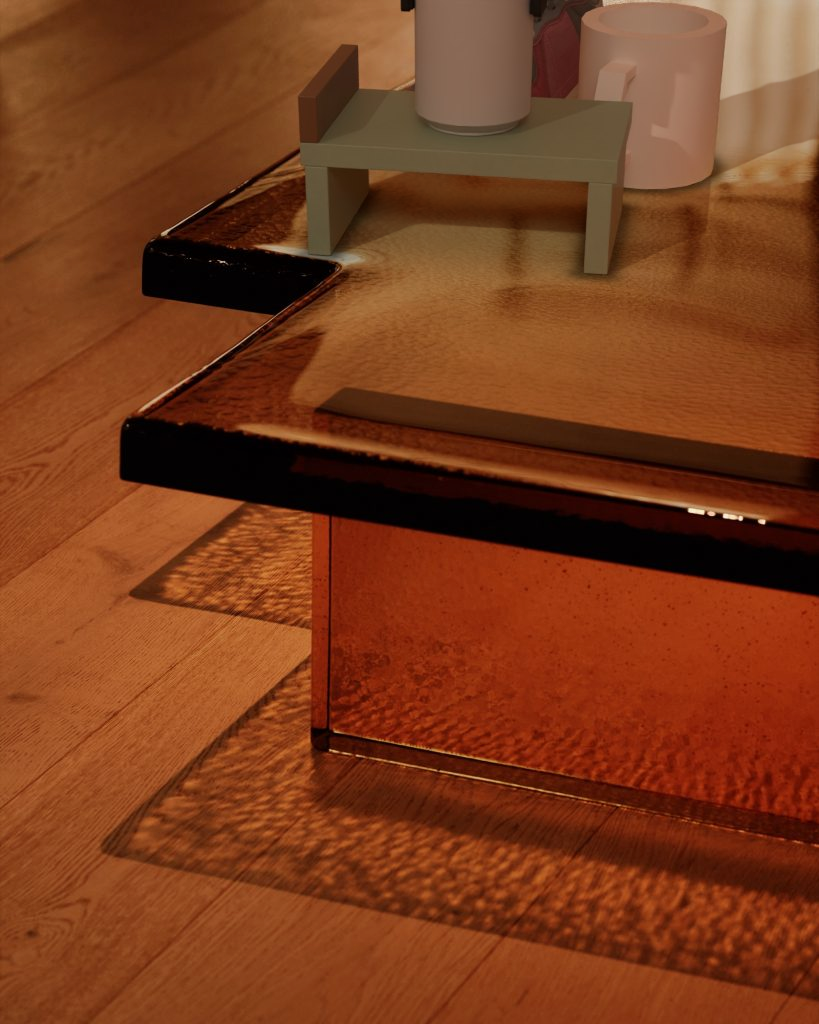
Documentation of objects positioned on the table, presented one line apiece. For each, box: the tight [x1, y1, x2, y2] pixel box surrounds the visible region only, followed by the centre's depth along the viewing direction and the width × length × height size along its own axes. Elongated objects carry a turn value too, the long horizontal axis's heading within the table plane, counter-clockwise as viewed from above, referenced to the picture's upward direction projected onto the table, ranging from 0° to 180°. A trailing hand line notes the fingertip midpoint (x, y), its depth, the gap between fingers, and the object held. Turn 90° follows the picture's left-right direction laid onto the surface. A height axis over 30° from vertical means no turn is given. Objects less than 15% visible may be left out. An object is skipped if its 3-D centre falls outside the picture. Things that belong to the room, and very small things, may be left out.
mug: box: [578, 1, 728, 190], centre depth 115 cm, size 14×10×11 cm
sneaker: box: [406, 0, 604, 99], centre depth 126 cm, size 10×28×12 cm, turn 153°
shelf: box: [297, 43, 633, 276], centre depth 105 cm, size 20×12×10 cm, turn 79°
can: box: [413, 0, 534, 136], centre depth 101 cm, size 8×8×12 cm
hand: (474, 7), depth 100 cm, fingers closed on can, 7 cm apart
